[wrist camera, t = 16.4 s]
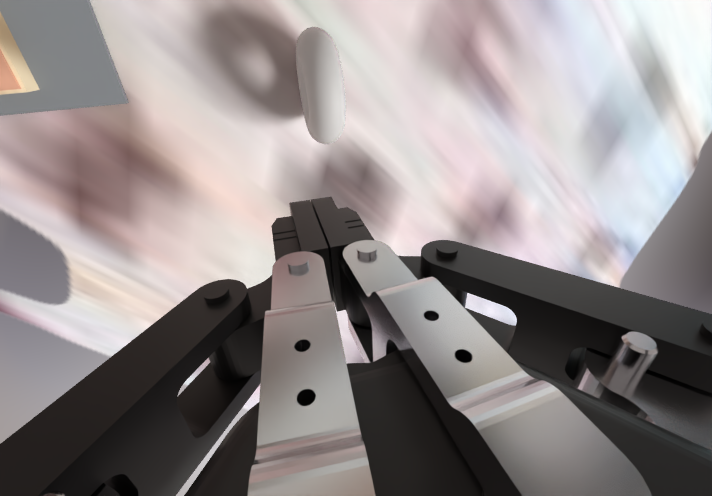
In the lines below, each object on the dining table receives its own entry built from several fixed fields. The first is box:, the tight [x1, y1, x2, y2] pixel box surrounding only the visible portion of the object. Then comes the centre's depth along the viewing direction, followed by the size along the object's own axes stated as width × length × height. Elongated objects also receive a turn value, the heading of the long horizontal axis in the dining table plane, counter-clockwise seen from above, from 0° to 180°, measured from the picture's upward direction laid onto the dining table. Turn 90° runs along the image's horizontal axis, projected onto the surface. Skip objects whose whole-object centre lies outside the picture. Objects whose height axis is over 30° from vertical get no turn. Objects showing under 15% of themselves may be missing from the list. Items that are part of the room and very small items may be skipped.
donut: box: [296, 27, 346, 144], centre depth 32 cm, size 10×4×10 cm, turn 4°
